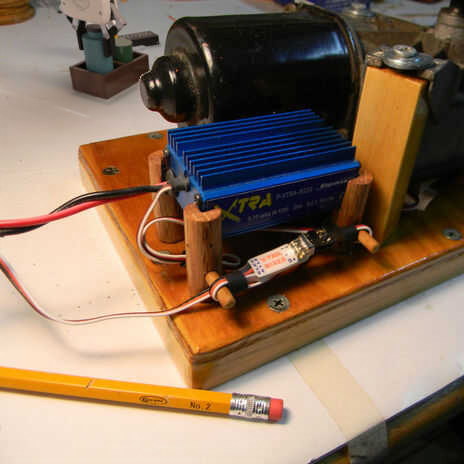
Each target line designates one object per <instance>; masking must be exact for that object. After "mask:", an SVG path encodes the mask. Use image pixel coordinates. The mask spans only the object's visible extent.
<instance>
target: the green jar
mask: <svg viewBox="0 0 464 464" xmlns="http://www.w3.org/2000/svg"><path fill="white" fill-rule="evenodd" d="M115 44H116V54H115V55H113V56H112V60H114V61H118V62H121V63H125V64H126V63H128V62H130V61H132V60H134V58H133V50H134V47H132V42H131V41H130V40H128V39H124V38H115Z"/></svg>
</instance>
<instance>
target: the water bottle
mask: <svg viewBox="0 0 464 464" xmlns="http://www.w3.org/2000/svg"><path fill="white" fill-rule="evenodd" d="M86 30H87V33H84V34H83V35H82V41H83V48H84V50H83V52H84V60H86V67H87V70H88V71H91V72H95V73H98V74H102V75H104V74H106V73H108V72H110V71H112V70H114V68H113V60H112V56H111V57H108V58H107V57H105V56H104V50H103V43H102V38H104V35H103V32H102V29H101V27H100V25H98V24H88V25H87V24H86Z"/></svg>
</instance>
